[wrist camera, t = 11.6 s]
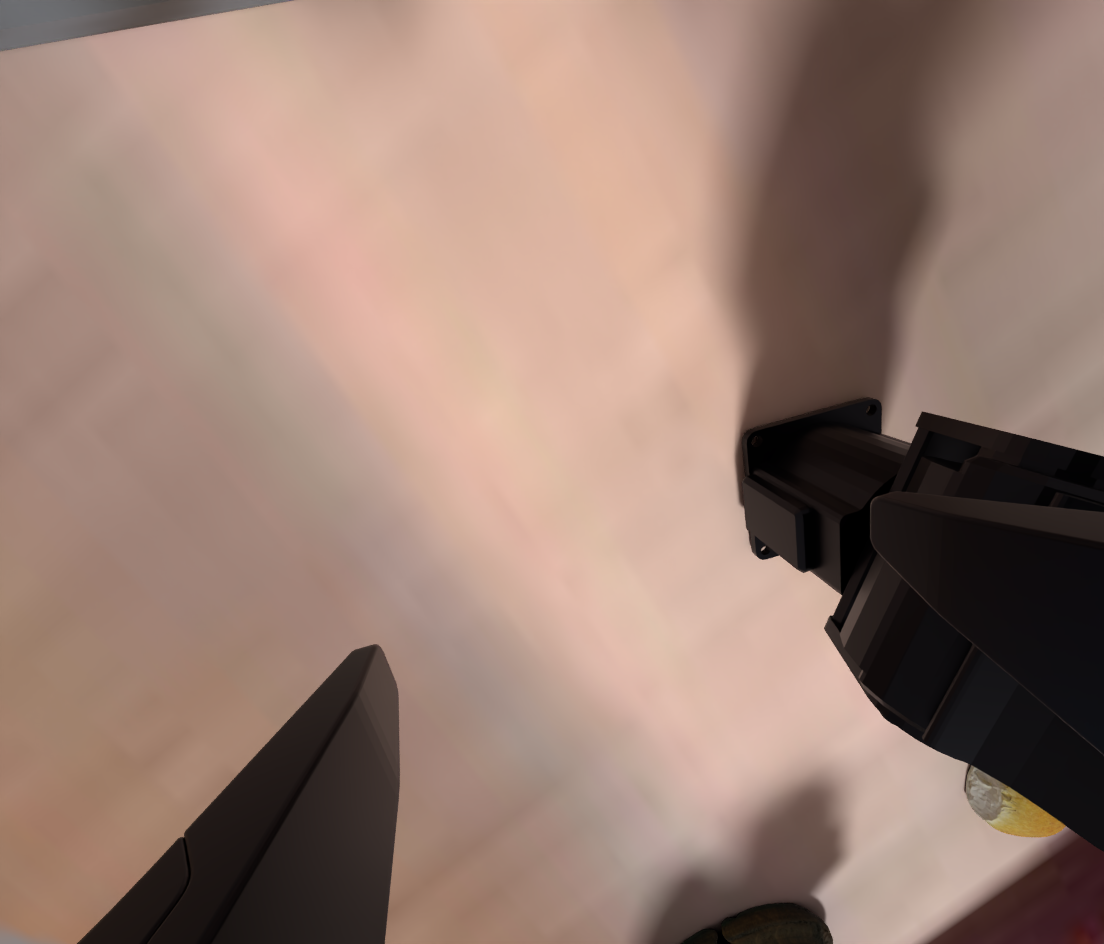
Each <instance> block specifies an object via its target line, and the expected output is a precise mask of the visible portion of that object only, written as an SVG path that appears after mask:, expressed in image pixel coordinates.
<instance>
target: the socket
mask: <svg viewBox="0 0 1104 944" xmlns="http://www.w3.org/2000/svg"><path fill="white" fill-rule="evenodd" d="M286 1H292V0H0V51H4V50H9V49H15V48H21V47H27V46H32V45H38V44H44V43H50V42H55V41H61V40H67V39H73V38H79V37H84V36H90V35H96V34H102V33H107V32H113V31H119V30H125V29H130V28H136V27H142V26H148V25H153V24H159V23H165V22H171V21H177V20H182V19H188V18H194V17H200V16H205V15H211V14H217V13H223V12H228V11H234V10H240V9H246V8H251V7H257V6H263V5H269V4H275V3H280V2H286Z"/></svg>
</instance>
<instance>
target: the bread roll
mask: <svg viewBox="0 0 1104 944" xmlns="http://www.w3.org/2000/svg"><path fill="white" fill-rule="evenodd" d="M966 795H967V799H968V801H969V803H970V805H971V807H972V809H973V810H974V811H975V812H976V814H977V815H978V816H979V817H981V818H982V819H983V820H985V821H986V822H987V823H988V824H989V825H990V826H992V827H993V828H995V829H997V830H999V831H1001V832H1003V833H1007V834H1011V835H1016V836H1021V837H1047V836H1051V835H1054V834H1056V833H1058V832H1060V831H1061V830H1062V829H1063V828H1064V827H1066V826H1065V825H1064V824H1063V823H1061V822H1060V821H1058V820H1057V819H1055V818H1054V817H1053V816H1051V815H1050V814H1048V813H1047V812H1046V811H1044V810H1043V809H1041V808H1040V807H1038V806H1037V805H1035V804H1034V803H1032V802H1031V801H1029V800H1028V799H1026V798H1025V797H1023V796H1022V795H1020V794H1019V793H1017V792H1016V791H1014V790H1013V789H1011V788H1010V787H1008V786H1006V785H1005V784H1003V783H1001V782H1000V781H998V780H996V779H994V778H993V777H991V776H989V775H987V774H986V773H984V772H982V771H980V770H979V769H977V768H975V767H974V766H972V765H971V767H970V769H969V772H968V774H967V780H966Z"/></svg>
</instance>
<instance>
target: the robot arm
mask: <svg viewBox="0 0 1104 944" xmlns="http://www.w3.org/2000/svg"><path fill="white" fill-rule="evenodd" d="M868 406H870V409H869V411H868V412H867V413H866V410H867V408H868ZM881 418H882V407H881V403H880V402H879V400H876V399H873V398H869V397H867V398H862V399H858V400H854V401H851V402H847V403H843V404H840V405H836V406H832V407H829V408H825V409H821V410H818V411H814V412H810V413H807V414H803V415H799V416H796V417H792V418H788V419H785V420H781V421H777V422H774V423H770V424H766V425H763V426H759V427H755V428H752V429H749V430H747V431H746V432H745V433H744V435H743V437H742V449H743V461H744V472H745V477H744V479H743V482H742V488H743V499H744V509H745V520H746V528H747V530H748V531H750V539H751V549H752V552H753V553H754V554H755V555H756V556H757V557H758V558H759V559H762V560H764V559H769V558H772V557H776V556H779V555H780V556H781V557H782V558H783V559H785V560H786V561H787V562H788V563H790V564H791V565H792V566H793V567H795V568H796V569H797V570H799V571H801V572H803V573H805V572H808V571H811V572H812V573H814V574H815V575H816V576H818V577H819V578H820V579H821V580H823V581H824V582H825V583H827V584H828V585H829V586H830V587H832V588H833V589H834V590H836V591H837V592H838V593H840V594H841V595H842V597H841V599H840V602H839V604H838V606H837V608H836V610H835V613H834V615H833V616H829V618H828V621H827V623H826V625H825V627H824V629H825V631H826V633H827V634H828V636H829V637H830V639H831V640H832V642H833V644H834V645H835V647H836V648H837V650H838V651H839V653H840V655H841V656H842V658H843V659H844V661H845V662H846V664H847V666H848V667H849V669H850V670H851V672H852V673H853V675H854V676H855V678H856V680H857V681H858V683H859V684H860V686H861V687H862V689H863V691H864V692H865V694H866V695H867V697H868V698H869V699H870V701H871V702H872V703H873V704H874V706H875V707H876V708H877V709H878V710H879V711H880V713H881V715H882V716H883V717H884V718H885V719H886V720H887V721H889V722H890V723H892V724H894V725H896V726H898V727H899V728H900V729H902V730H903V731H905V732H906V733H908V734H909V735H911V736H912V737H914V738H915V739H917V740H918V741H920V742H922V743H924V744H925V745H927V746H929V747H931V748H933V749H935V750H936V751H939V752H941V753H943V754H945V755H948V756H950V757H952V758H954V759H958V760H961V761H964V762H966V763H968V764H970V765H972V766H974V767H975V768H977V769H979V770H980V771H982V772H984V773H986V774H987V775H989V776H991V777H993V778H994V779H996V780H998V781H1000V782H1001V783H1003V784H1005V785H1006V786H1008V787H1010V788H1011V789H1013V790H1014V791H1016V792H1017V793H1019V794H1020V795H1022V796H1023V797H1025V798H1026V799H1028V800H1029V801H1031V802H1032V803H1034V804H1035V805H1037V806H1038V807H1040V808H1041V809H1043V810H1044V811H1046V812H1047V813H1048V814H1050V815H1051V816H1053V817H1054V818H1055V819H1057V820H1058V821H1060V822H1061V823H1063V824H1064V825H1065V826H1067V827H1068V828H1070V829H1071V830H1073V831H1074V832H1075V833H1077V834H1078V835H1080V836H1081V837H1083V838H1084V839H1085V840H1087V841H1088V842H1090V843H1091V844H1093V845H1094V846H1095V847H1097V848H1099V849H1100V850H1102V851H1104V457H1103V456H1099V455H1096V454H1092V453H1088V452H1084V451H1080V450H1076V449H1072V448H1068V447H1064V446H1060V445H1056V444H1052V443H1048V442H1044V441H1040V440H1036V439H1032V438H1028V437H1024V436H1020V435H1016V434H1012V433H1008V432H1004V431H1000V430H996V429H992V428H988V427H984V426H980V425H975V424H971V423H967V422H963V421H959V420H955V419H951V418H947V417H943V416H939V415H935V414H930V413H926V412H922V413H921V415H920V417H919V419H918V421H917V424H916V427H918V430H917V432H916V434H915V436H914V438H913V441H912V443H908V442H905V441H902V440H899V439H896V438H893V437H890V436H887V435H884V434H881ZM756 436H757V437H758V439H757V442H756V443H755V444H753V445H752V440H753V438H754V437H756ZM765 545H766V548H765V549H764V550H762V551H761V549H762V547H763V546H765ZM399 787H400V754H399V697H398V689H397V684H396V681H395V679H394V676H393V674H392V671H391V669H390V666H389V664H388V662H387V659H386V657H385V654H384V652H383V650H382V648H381V647H380V646H379V645H377V644H373V645H370V646H366V647H363V648H359V649H356V650H354V651H352V652H351V653H350V654H349V655H348V656H347V658H346V659H345V660H344V661H343V662H342V663H341V664H340V665H339V666H338V667H337V668H336V669H335V670H334V672H333V673H332V674H331V675H330V676H329V677H328V678H327V679H326V680H325V681H324V682H323V683H322V685H321V686H320V687H319V688H318V689H317V690H316V691H315V692H314V693H313V694H312V695H311V696H310V697H309V699H308V700H307V701H306V702H305V703H304V704H303V705H302V706H301V707H300V708H299V709H298V710H297V711H296V713H295V714H294V715H293V716H292V717H291V718H290V719H289V720H288V721H287V722H286V723H285V724H284V725H283V727H282V728H281V729H280V730H279V731H278V732H277V733H276V734H275V735H274V736H273V737H272V738H271V739H270V741H269V742H268V743H267V744H266V745H265V746H264V747H263V748H262V749H261V750H260V751H259V752H258V753H257V755H256V756H255V757H254V758H253V759H252V760H251V761H250V762H249V763H248V764H247V765H246V766H245V767H244V768H243V770H242V771H241V772H240V773H239V774H238V775H237V776H236V777H235V778H234V779H233V780H232V781H231V782H230V784H229V785H228V786H227V787H226V788H225V789H224V790H223V791H222V792H221V793H220V794H219V795H218V796H217V798H216V799H215V800H214V801H213V802H212V803H211V804H210V805H209V806H208V807H207V808H206V809H205V810H204V812H203V813H202V814H201V815H200V816H199V817H198V818H197V819H196V820H195V821H194V822H193V823H192V824H191V826H190V827H189V828H188V829H187V830H186V831H185V833H184V837H180V838H178V839H177V840H176V841H175V843H174V844H173V845H172V846H171V847H170V848H169V849H168V850H167V851H166V852H165V853H164V855H163V856H162V857H161V858H160V859H159V860H158V861H157V862H156V863H155V864H154V865H153V866H152V867H151V868H150V870H149V871H148V872H147V873H146V874H145V875H144V876H143V877H142V878H141V879H140V880H139V881H138V882H137V883H136V884H135V885H134V886H133V887H132V888H131V889H130V890H129V892H128V893H127V894H126V895H125V896H124V897H123V898H122V899H121V900H120V901H119V902H118V903H117V904H116V905H115V906H114V907H113V908H112V909H111V910H110V911H109V912H108V913H107V914H106V915H105V916H104V917H103V918H102V919H101V920H100V921H99V922H98V923H97V924H96V925H95V926H94V927H93V928H92V929H91V930H90V931H89V932H88V933H87V934H86V935H85V936H84V937H83V938H82V939H81V940H80V941H79V942H78V943H77V944H385V935H386V925H387V914H388V904H389V894H390V884H391V873H392V863H393V853H394V843H395V832H396V822H397V812H398V801H399Z"/></svg>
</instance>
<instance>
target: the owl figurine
mask: <svg viewBox="0 0 1104 944" xmlns="http://www.w3.org/2000/svg"><path fill="white" fill-rule="evenodd" d="M721 924H722V925H721V928H722V934H723V935H724V938H725V939H726V940H727V941H728V942H730V943H731V944H833V938H832V936H831V933H830V931H829V928H828V926H827V925H826V924H825V923H824V921H822V920H821V919H820V918H819V917H817V916H815V915H814V914H812V913H811V912H810V911H808V910H807V909H806V908H802V907H800V906H796V905H794V904H790V903H785V904H783V903H780V904H766V905H762V906H757V907H754V908H751V909H748V910H746V911H744V912H742V913H740V914H738V916H737V918H727V919H725V920H724V921H723V922H722V923H721ZM682 944H717V932H716V931H715V930H712V929H706V930H702V931H700V932H698V933H696V934H695V935H693V936H692V937H690V938H689V939H687V940H686V941H684V942H683V943H682Z"/></svg>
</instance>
